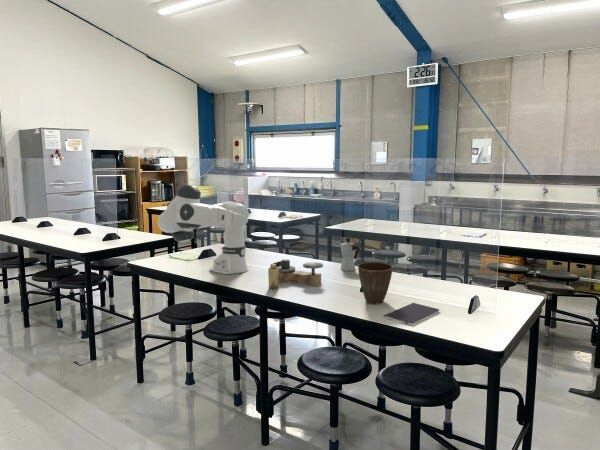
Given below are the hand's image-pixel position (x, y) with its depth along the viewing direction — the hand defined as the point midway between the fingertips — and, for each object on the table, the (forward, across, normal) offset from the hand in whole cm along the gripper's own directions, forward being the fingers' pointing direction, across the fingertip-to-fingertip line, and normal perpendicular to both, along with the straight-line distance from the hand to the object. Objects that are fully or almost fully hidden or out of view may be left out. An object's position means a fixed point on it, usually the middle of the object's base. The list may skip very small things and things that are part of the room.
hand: (239, 219), depth 206 cm
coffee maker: (+77, +12, -20) cm, 80 cm away
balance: (+41, +6, -27) cm, 50 cm away
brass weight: (+26, +3, -31) cm, 40 cm away
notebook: (+33, +73, -28) cm, 85 cm away
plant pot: (+38, +53, -27) cm, 70 cm away
